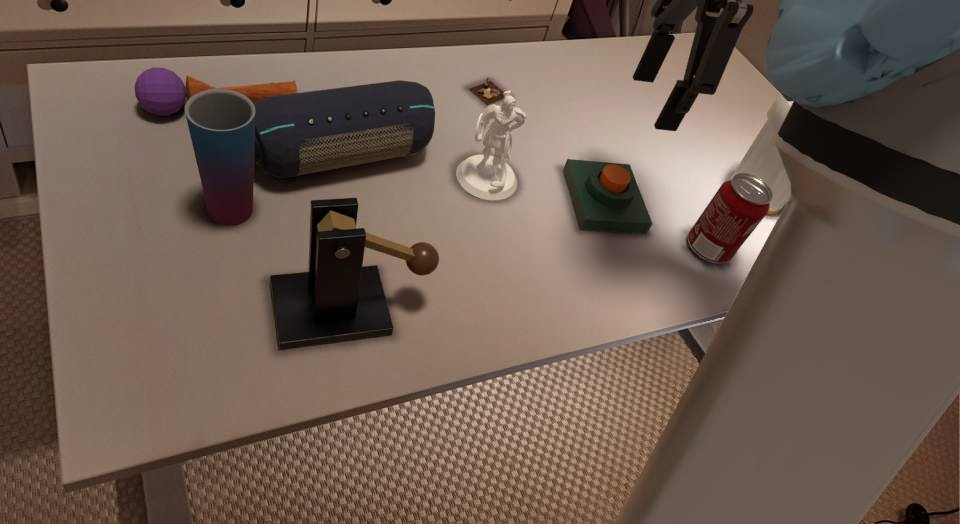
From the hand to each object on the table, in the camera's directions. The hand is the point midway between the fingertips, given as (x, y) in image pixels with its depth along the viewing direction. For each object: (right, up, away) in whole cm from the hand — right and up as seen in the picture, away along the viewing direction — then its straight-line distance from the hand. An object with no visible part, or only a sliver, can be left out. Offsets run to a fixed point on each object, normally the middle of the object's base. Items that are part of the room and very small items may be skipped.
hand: (653, 103), depth 82 cm
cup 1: (-52, -14, -3) cm, 53 cm away
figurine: (-21, -8, +11) cm, 25 cm away
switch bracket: (-38, -25, -9) cm, 46 cm away
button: (-3, -9, +10) cm, 14 cm away
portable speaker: (-40, -6, +7) cm, 41 cm away
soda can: (+11, -18, +12) cm, 24 cm away
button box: (-4, -11, +13) cm, 17 cm away
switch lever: (-33, -19, -14) cm, 40 cm away
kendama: (-57, +1, +8) cm, 58 cm away
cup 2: (+22, -9, +22) cm, 33 cm away
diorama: (-20, +7, +24) cm, 32 cm away
